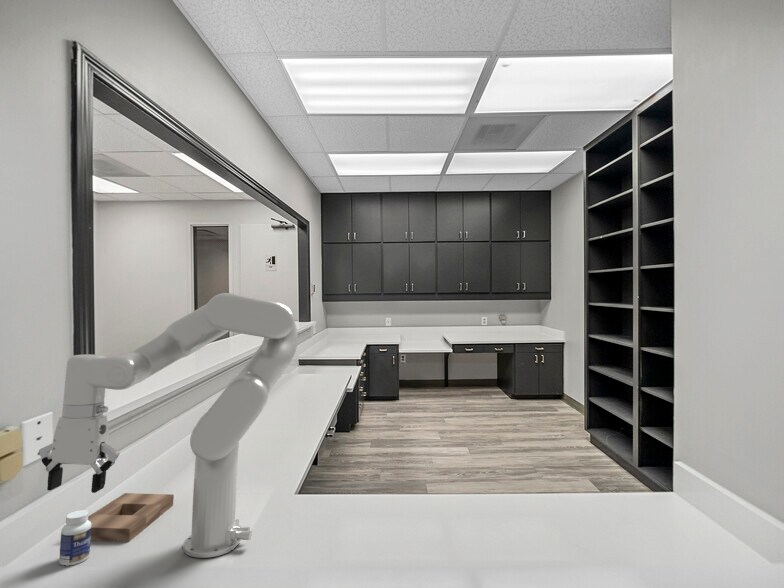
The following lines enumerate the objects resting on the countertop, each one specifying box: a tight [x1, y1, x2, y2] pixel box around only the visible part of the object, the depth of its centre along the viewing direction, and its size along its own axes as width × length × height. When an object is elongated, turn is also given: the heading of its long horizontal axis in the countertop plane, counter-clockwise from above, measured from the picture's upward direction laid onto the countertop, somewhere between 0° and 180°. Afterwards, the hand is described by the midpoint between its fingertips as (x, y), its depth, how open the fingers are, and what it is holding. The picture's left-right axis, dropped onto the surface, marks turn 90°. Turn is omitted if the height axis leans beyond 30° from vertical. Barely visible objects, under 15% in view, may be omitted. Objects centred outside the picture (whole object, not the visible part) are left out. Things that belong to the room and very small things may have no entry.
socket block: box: [87, 492, 175, 543], centre depth 112 cm, size 14×20×3 cm
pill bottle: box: [58, 509, 91, 567], centre depth 94 cm, size 5×5×10 cm
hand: (76, 489), depth 95 cm, fingers open, 9 cm apart
